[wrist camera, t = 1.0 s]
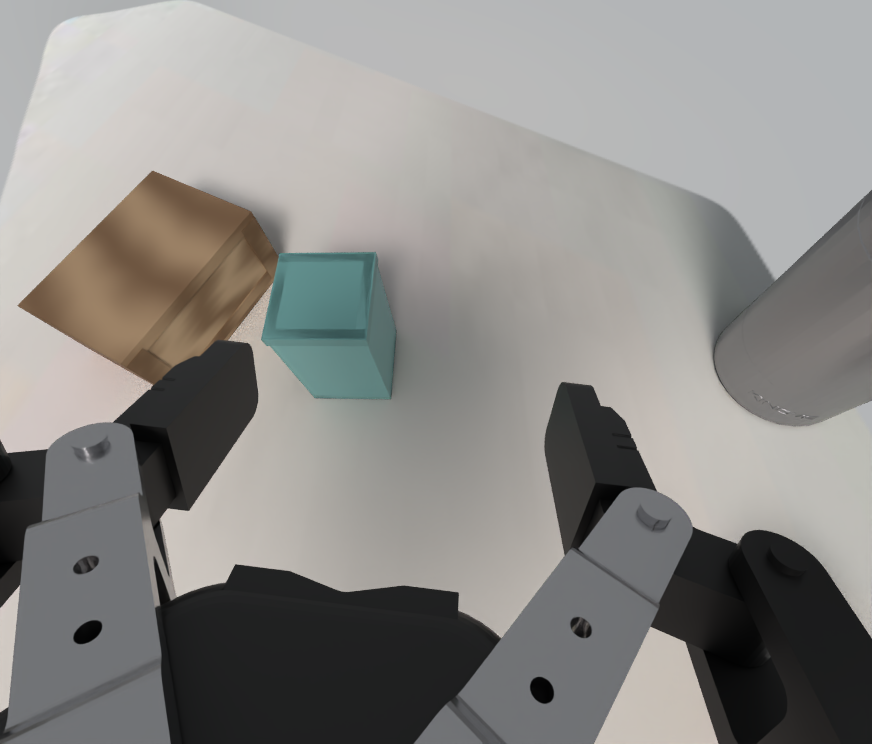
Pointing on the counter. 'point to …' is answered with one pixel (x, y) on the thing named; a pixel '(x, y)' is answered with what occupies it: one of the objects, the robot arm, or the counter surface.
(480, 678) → the robot arm
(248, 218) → the wooden crate
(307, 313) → the teal lidded bin
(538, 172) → the counter surface
